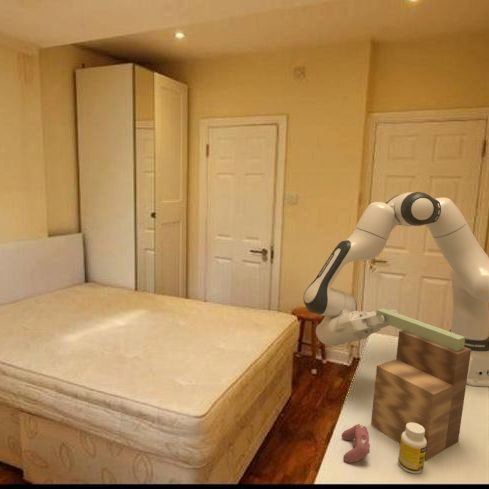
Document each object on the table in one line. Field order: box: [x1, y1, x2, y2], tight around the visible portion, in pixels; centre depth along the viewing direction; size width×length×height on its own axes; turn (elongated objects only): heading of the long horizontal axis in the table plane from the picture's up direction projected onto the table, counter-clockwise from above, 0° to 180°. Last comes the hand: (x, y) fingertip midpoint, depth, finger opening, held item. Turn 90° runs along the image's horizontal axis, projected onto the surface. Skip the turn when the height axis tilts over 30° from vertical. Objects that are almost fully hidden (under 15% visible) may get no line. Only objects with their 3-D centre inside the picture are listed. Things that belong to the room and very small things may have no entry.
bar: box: [375, 308, 465, 351], centre depth 106 cm, size 24×3×3 cm, turn 33°
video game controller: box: [341, 423, 371, 463], centre depth 96 cm, size 10×5×7 cm, turn 169°
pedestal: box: [370, 330, 471, 462], centre depth 102 cm, size 16×14×25 cm
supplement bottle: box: [397, 422, 427, 474], centre depth 91 cm, size 5×5×10 cm
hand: (390, 316), depth 113 cm, fingers open, 4 cm apart
